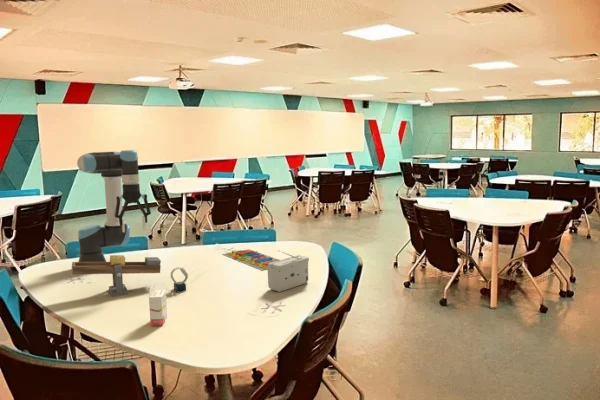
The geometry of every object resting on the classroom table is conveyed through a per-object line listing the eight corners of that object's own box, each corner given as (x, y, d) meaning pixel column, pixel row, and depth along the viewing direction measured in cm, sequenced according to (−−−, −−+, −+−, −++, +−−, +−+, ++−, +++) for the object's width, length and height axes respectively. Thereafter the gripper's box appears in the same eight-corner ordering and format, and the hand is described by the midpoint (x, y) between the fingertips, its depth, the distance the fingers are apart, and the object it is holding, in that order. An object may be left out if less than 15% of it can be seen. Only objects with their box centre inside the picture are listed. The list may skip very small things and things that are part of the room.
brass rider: (109, 265, 218) (110, 255, 218) (122, 265, 221) (123, 255, 221) (110, 268, 213) (111, 257, 213) (124, 268, 216) (125, 257, 216)
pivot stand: (108, 288, 223) (106, 260, 221) (124, 286, 226) (122, 258, 224) (112, 297, 211) (110, 267, 209) (128, 294, 215) (126, 265, 213)
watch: (190, 289, 219) (189, 267, 218) (173, 293, 215) (171, 270, 214) (187, 286, 224) (185, 264, 223) (170, 289, 220) (169, 267, 219)
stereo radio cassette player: (299, 279, 232) (298, 240, 229) (310, 283, 226) (310, 243, 224) (267, 289, 218) (266, 248, 215) (279, 293, 212) (278, 251, 209)
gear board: (222, 251, 283) (248, 246, 295) (222, 255, 283) (249, 250, 295) (262, 267, 248) (290, 260, 259) (262, 271, 248) (291, 265, 260)
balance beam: (71, 269, 212) (72, 256, 211) (156, 268, 231) (157, 256, 230) (72, 274, 204) (73, 261, 204) (160, 273, 223) (161, 260, 222)
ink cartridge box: (163, 326, 178) (161, 289, 176) (150, 326, 178) (147, 290, 176) (167, 317, 187) (165, 282, 185) (155, 318, 186) (153, 282, 184)
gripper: (107, 185, 207) (110, 234, 211) (155, 182, 218) (158, 229, 221) (105, 184, 214) (109, 232, 217) (152, 181, 224) (155, 226, 227)
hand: (134, 230), depth 219 cm, fingers open, 9 cm apart
